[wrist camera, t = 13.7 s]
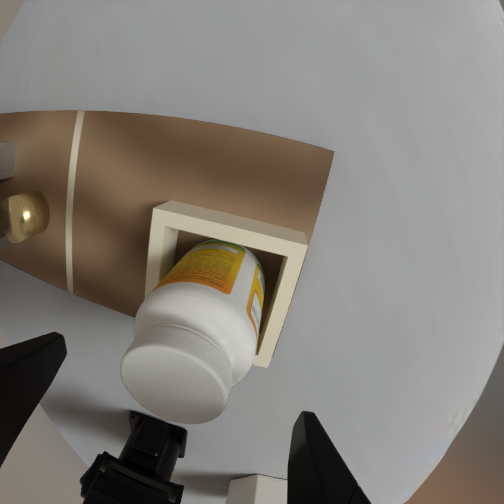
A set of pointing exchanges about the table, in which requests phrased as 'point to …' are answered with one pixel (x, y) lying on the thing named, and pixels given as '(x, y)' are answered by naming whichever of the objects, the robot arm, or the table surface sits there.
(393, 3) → the table surface
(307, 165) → the board
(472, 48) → the table surface
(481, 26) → the table surface
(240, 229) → the socket
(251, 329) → the supplement bottle
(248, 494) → the jar
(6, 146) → the cover
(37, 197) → the gold knob
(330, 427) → the table surface
